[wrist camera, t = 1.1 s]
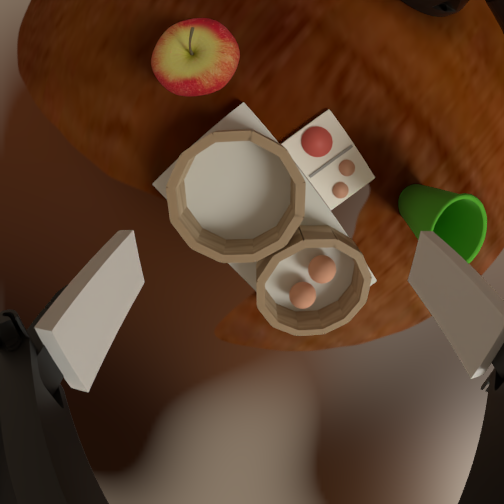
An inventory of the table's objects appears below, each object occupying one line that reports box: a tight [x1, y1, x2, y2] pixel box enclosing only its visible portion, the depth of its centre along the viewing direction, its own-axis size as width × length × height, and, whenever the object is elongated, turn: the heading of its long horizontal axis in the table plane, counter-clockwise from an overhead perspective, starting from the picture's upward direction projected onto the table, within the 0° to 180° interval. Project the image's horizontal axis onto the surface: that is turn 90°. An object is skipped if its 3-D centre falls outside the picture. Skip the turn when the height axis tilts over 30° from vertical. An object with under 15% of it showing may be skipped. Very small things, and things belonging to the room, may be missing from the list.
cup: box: [398, 184, 487, 264], centre depth 28 cm, size 9×9×11 cm
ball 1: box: [289, 282, 316, 309], centre depth 36 cm, size 4×4×4 cm
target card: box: [281, 109, 375, 210], centre depth 31 cm, size 10×7×1 cm
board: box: [152, 102, 377, 311], centre depth 35 cm, size 29×14×1 cm, turn 40°
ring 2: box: [256, 225, 372, 336], centre depth 35 cm, size 14×14×4 cm
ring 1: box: [166, 129, 306, 263], centre depth 30 cm, size 14×14×4 cm
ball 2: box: [308, 255, 336, 284], centre depth 34 cm, size 4×4×4 cm
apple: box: [151, 18, 240, 96], centre depth 21 cm, size 8×8×10 cm
